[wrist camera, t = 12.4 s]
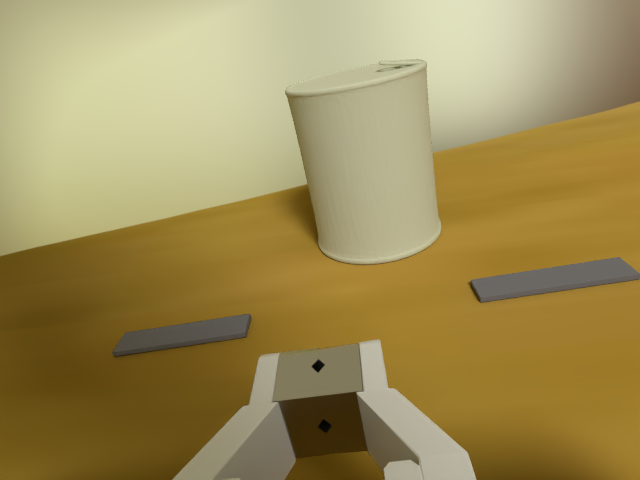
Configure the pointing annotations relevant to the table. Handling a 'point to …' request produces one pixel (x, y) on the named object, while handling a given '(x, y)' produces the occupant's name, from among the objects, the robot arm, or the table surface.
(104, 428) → the table surface
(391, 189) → the can
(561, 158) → the table surface
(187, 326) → the strip
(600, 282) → the line strip
